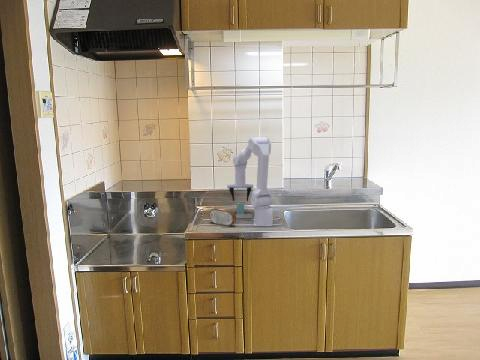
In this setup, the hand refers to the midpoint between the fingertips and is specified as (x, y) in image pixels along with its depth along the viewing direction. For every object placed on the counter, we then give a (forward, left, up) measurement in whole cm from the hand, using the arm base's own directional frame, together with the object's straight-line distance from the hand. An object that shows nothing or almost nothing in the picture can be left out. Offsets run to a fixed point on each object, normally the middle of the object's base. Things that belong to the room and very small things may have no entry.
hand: (240, 200), depth 220 cm
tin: (+9, +22, -7) cm, 25 cm away
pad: (-2, +9, -7) cm, 12 cm away
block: (0, 0, -7) cm, 7 cm away
